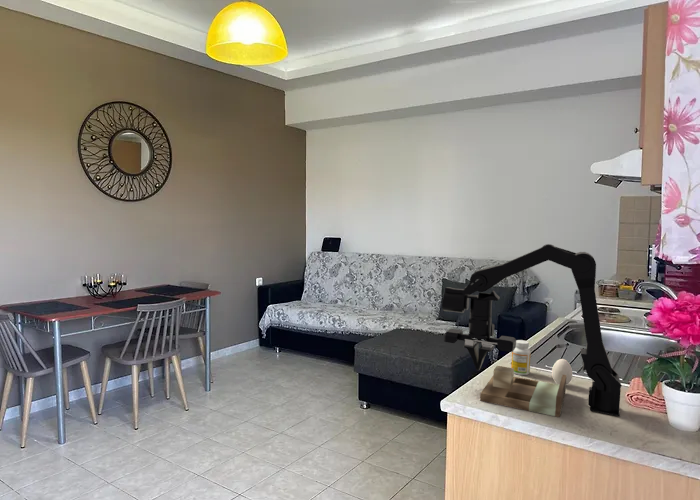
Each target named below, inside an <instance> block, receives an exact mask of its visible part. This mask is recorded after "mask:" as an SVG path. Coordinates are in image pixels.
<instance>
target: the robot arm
mask: <svg viewBox="0 0 700 500" xmlns="http://www.w3.org/2000/svg"><path fill="white" fill-rule="evenodd" d="M547 261H550V262H553V263H555V264H557V265H560V266H563V267H565V268H568V269H571V270H570V271H571V272H572V275H573V278H574V280H575V283H576V287H577V289H578V292H579V299H580V305H581V312H582V313H581V315H582V319H583V326H584V332H585V333H584V334H585V338H586V346H585V347H586V348H580V357H581V359H582V363H581V364H582V370H583V371H585V372H586V375H587V377H588V378H589V379H591V381H592V384H591V386H589V388H588V399H587V400H588V402H587V403H588V404H587V406H588V407H589V411H591V412H594V413H600V414H606V415H611V416H616V417H620V416H621V412H620V404H621V403H620V402H621V389H622V383H621V380H620V376H619V374H618V373H617V371H615V370H614V368H612V365H611V361H610V358H609V356H608V352H607V350H606V347H605V344H604V342H603V337H602V336H603V335H602V329H601V322H600V315H599V310H598V304H597V303H598V302H597V296H596V278H597V277H596V276H597V273H596V272H597V262H596V260H595V258H594V256H593V255H592V254H590V253H589V252H586V251H579V252H574V251H570V250H569V249H568V250H567V249H564V248H561V247H558V246H555V245H553V244H550V243H547V244H544V245H542V247H539V248H537V249H535V250H531V251H530V252H528V253H525V254H523V255H521V256H518V257H516V258H514V259H511V260H509V261H506V262H504V263H500V264H498V265H493V266H487V267H485V268H481V269H477V270H476V271H475V272H473V273H472V274H471V276H470V278H469V283H468V284H467V285H466V286H465V287H464V288H457V287H456V288H454V287H449V286H447V287H445V288H444V293H443V296H442V297H443V298H442V301H441V305H442V306H441V308H442V311H444V312H453V313H459V314H460V313H461V314H464V313H465V311H468V310H469V318H468V328H469V329H468V333H464V332H463V329H456V328H450V329H449V330H447V331H446V332H444V334H443V342H445V343H449V344H455V343H457V342H458V341H464V345H463V348H464V349H466V350H467V352H468V353H469V355H470V357H471V360H472V362H473V365H474V368H475V370H476V371H480V370H481V368H482V365H483V363H484V360H485V357H486V355H488V352H489V353H490V352H492V351H493V349H494V348H495V346H496V347H497V349H498V350H499V351H501V352H508V353H512V352H513V351H514V349H515V348H516V340H517V339H516V338H515V337H513V336H507V335H501V336H499V338H496V337H494V334H495V326H496V325H495V324H494V323H493V322H492V321H493V320H492V319H493V318H492V313H493V312H492V310H493V309H492V307H493V301H494V302H496V301H499V300H500V297H501V296H499V295H498V294H497V293H496V291H495V290H492V291H491V292H490V293H489V292H486V291H488V290H489V289H491V288H493V287H494V286H495V285H497V284H499V283H501V282H502V281H503V280H505V279H506V278H509V277H511V276H513V275H516V274H518V273H520V272H523V271H525V270H528V269H530V268H533V267H535V266H537V265H540V264H542V263H544V262H547ZM476 292H479V293H478V294H474V293H476ZM469 308H470V309H469ZM480 344H481V346H480ZM479 346H480V347H479Z"/></svg>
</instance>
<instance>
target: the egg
mask: <svg viewBox="0 0 700 500" xmlns="http://www.w3.org/2000/svg"><path fill="white" fill-rule="evenodd" d="M562 375H567V376H566V386H567V385H568V384H569V383H571V382H572V378H573V369H572V366H571V364H570V363H569V361H568V360H566V359H565V358H560V359H557V360H556V361H555V362H554V364H553V366H552V368H551V377H552V379H553V381H554V382H555V384H558V385H560V382H561V378H562Z"/></svg>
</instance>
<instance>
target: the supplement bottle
mask: <svg viewBox="0 0 700 500" xmlns="http://www.w3.org/2000/svg"><path fill="white" fill-rule="evenodd" d="M529 347H530V341H527V340H523V339H516V348H515V349H514V351H513V352H511V366H510V368H514V375H517V376H518V375H519V376H528V375H529V374H531V373H530V372H531V355H532V354H531V353H532V352H531V349H530V348H529Z"/></svg>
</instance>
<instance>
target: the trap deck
mask: <svg viewBox="0 0 700 500" xmlns="http://www.w3.org/2000/svg"><path fill="white" fill-rule="evenodd" d="M566 376H567V375H562V378H561V382H560V385H558V384H557V383H552V382H546V381H540V380H536V379H530V378H523V377H517V376H514V377H513V385H512V387H511V389H510V390H509V389H504V388H499V387H494V386H493V375H492V376H491V378H490V379H489V380H488V382H486V385H485V386H484V387H483V389H482V390H481V392H480V395H479V397H480V398H479V401H481V402H485V403H490V404H494V405H501V406H505V407H510V408H514V409H518V410H524V411H528V412H533V413H539V414H544V415H547V416H552V417H557V418H560V417H561V414H562V408H563V405H564V400H565V397H566V390H567V389H566V387H567V385H566Z"/></svg>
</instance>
